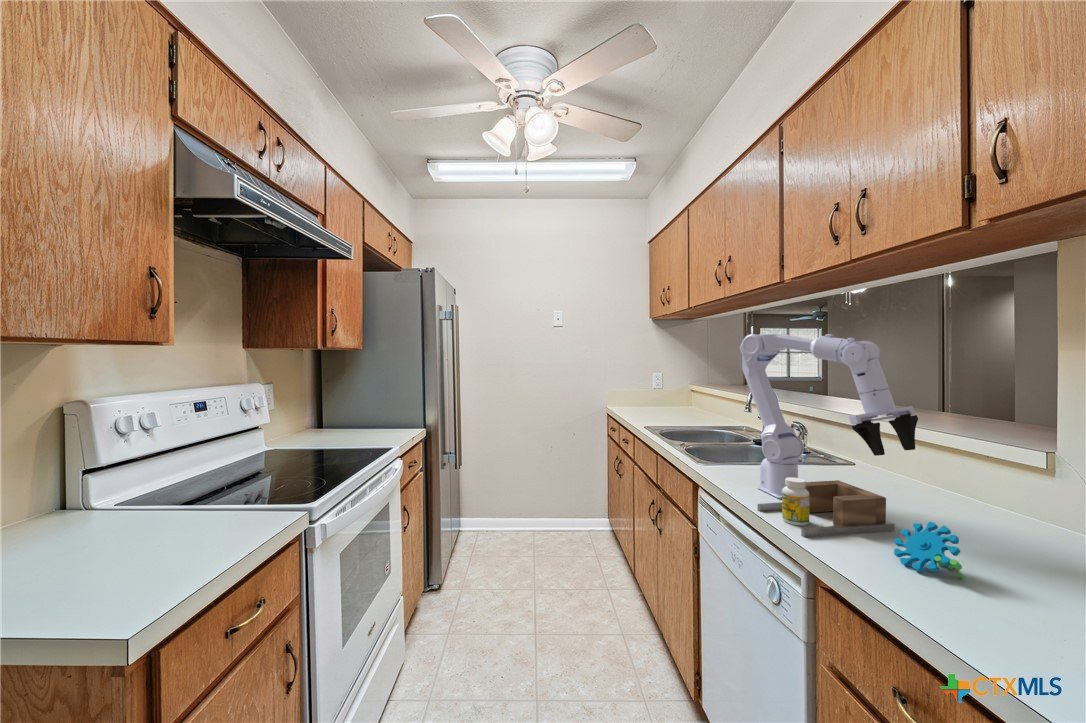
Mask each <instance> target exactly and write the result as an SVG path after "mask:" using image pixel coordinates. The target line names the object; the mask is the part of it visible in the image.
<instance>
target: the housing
mask: <svg viewBox="0 0 1086 723" xmlns="http://www.w3.org/2000/svg"><path fill="white" fill-rule="evenodd" d="M804 489H806V490H807V491H808V492H809V513H822V512H832V514H833V515H832V518H833V519H832V520H833V521H832V523H833V524H832V526H842V525H857V524H871V523H885V522H887V497H885V496H882V495H879V494H877V493H873V492H871V491H869V490H866V489H863V488H860V487H858V486H855V485H853V484H849V483H846V482H844V481H841V480H837V479H836V480H821V481H820V480H819V481H806V486H805V488H804Z"/></svg>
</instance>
